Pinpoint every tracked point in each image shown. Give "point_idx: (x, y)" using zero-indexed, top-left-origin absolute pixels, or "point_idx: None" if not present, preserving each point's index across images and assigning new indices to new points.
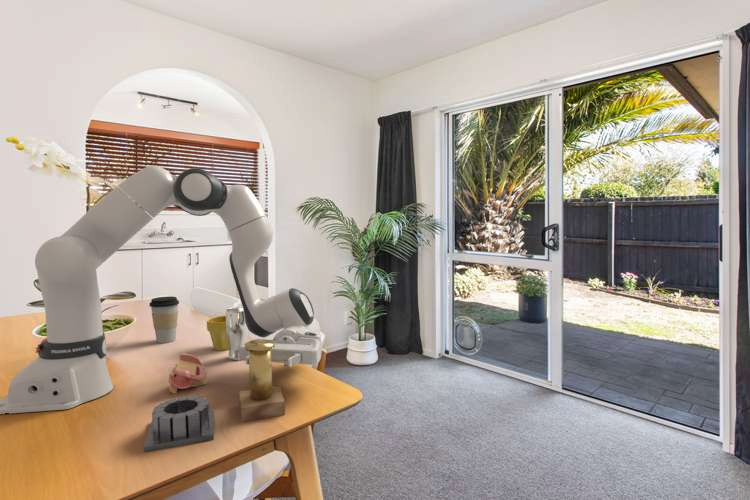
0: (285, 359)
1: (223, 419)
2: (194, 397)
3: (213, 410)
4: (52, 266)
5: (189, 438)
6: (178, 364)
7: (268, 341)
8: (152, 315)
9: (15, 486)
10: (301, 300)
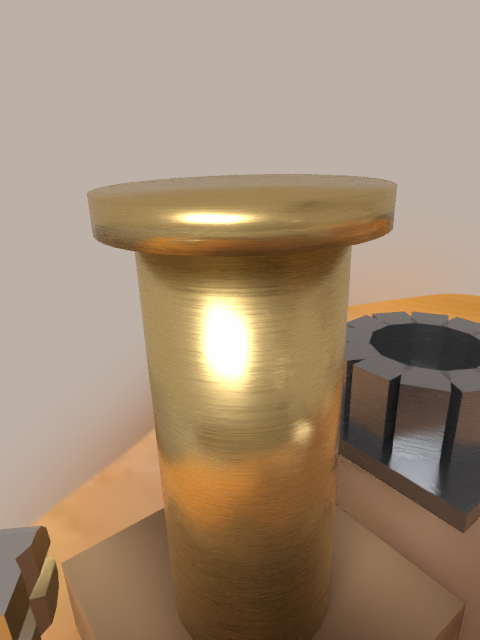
0: (20, 531)
1: (360, 501)
2: (472, 382)
3: (443, 498)
4: None
5: None
6: None
7: (184, 196)
8: None
9: (463, 296)
10: None
